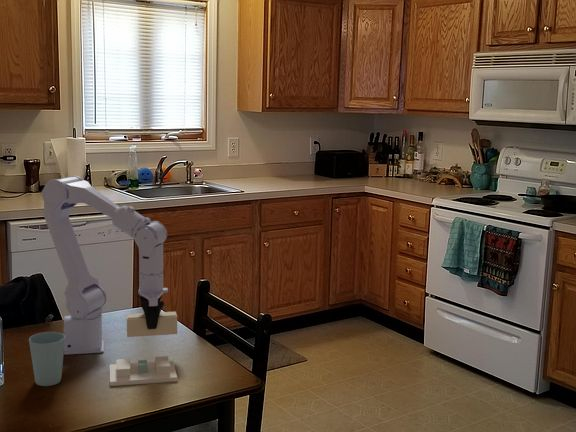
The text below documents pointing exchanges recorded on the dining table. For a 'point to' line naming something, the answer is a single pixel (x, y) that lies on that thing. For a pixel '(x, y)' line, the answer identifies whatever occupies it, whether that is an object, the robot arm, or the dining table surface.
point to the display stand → (142, 372)
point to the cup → (47, 357)
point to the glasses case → (139, 328)
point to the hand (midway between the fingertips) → (151, 325)
